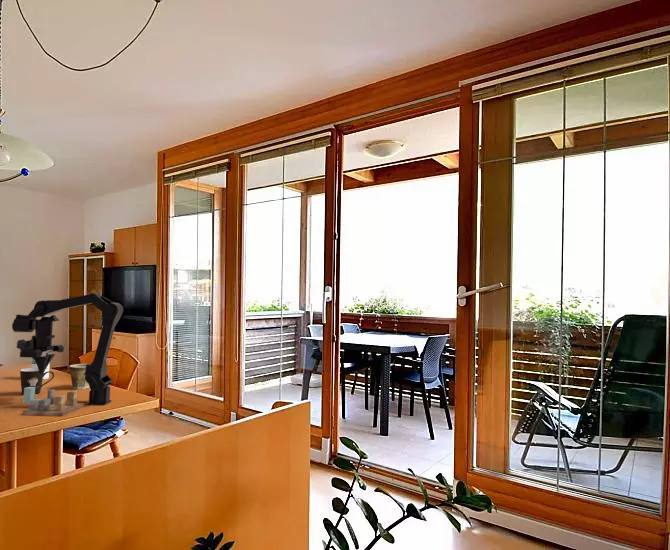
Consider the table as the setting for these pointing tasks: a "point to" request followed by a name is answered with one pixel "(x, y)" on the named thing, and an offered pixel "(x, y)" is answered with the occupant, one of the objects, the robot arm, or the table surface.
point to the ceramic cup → (78, 376)
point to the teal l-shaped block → (30, 395)
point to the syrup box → (34, 365)
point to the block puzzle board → (55, 405)
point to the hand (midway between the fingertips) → (41, 373)
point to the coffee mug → (32, 379)
